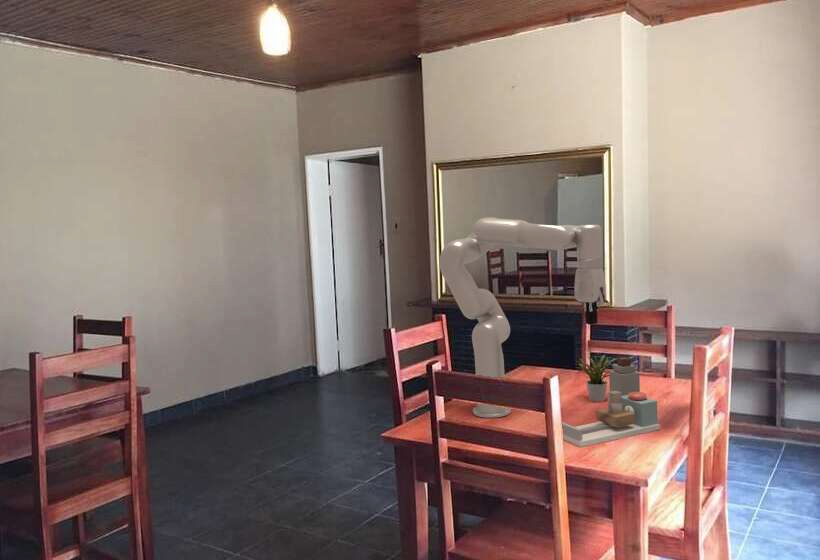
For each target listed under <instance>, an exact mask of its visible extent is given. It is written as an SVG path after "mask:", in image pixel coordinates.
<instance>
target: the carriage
mask: <svg viewBox="0 0 820 560" xmlns="http://www.w3.org/2000/svg"><path fill="white" fill-rule="evenodd" d="M607 403H608V406H607V407H605V408H601V409H596V410H595V416H596V417H595V420H596V421H597V422H603V423H606V424H608V425H611V426H613V427H616V428H617V427H622V426H627V425H631V424H635V413H632V412H629V411H626V410H623V409H622V392H619V391H612V392H610V391H608V392H607Z"/></svg>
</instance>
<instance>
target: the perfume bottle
mask: <svg viewBox="0 0 820 560" xmlns="http://www.w3.org/2000/svg"><path fill="white" fill-rule="evenodd" d="M611 366H612V368H613V369H612V370H609V371H608V372H609V373H608V375H609V376H608V378H609V392H612V391H619V392H622V396H625V395H628V393H630V392H641V390H640V389H641V388H640V387H641V385H640V384H641V382H640V372H639V371H638V372H637V371H636V368H637V365H635V364H632V358H630V357H628V356H622V357H621V356H620V357H616V363H613V364H611Z"/></svg>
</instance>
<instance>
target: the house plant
mask: <svg viewBox="0 0 820 560" xmlns="http://www.w3.org/2000/svg"><path fill="white" fill-rule="evenodd" d="M593 356H594V358H595V361H594V359H593V358H592V357H590V356H588V355H586V357H587V358H588V360H590V363H591V366H592V367H591V366H590V365H589V364H588V363H587V362H586V361H584V360H583V359H581V358H579V360H580V361H582V363H583V364H584V365H585V366H584V365H583V364H581V363H578V364H579V366H580V367H581V369H582V370H581V374H585V375H587V376H584V379H585V378H589V380H587V381H586V387H587V393H588V398H589V401H590V400H591V401H590V402H594V401H596V402H597V403H599V401H601V402H605V401H604V400H606V396H607V395H606V393H607V387H608V382H607V381H606V380H603V379H604V378H607V377H608V378H609V371H607V372H606V373H605V374H604V371H606V369H607V368H608V366H609V365H610V364H611V363H612V362H613V361H616V358H614V359H611V360H609V358H608V357H606V358H605V356H606V354H604V355H602V356H601V357H600V359H599V361H598V359H597V356H596V355H595V354H594V355H593ZM604 360H605V361H604Z"/></svg>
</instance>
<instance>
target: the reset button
mask: <svg viewBox="0 0 820 560" xmlns="http://www.w3.org/2000/svg"><path fill="white" fill-rule="evenodd" d="M628 398H629V399H632V400H634V401H642V400H644V399H646V398H647V393H646V392H642V391H640V392H630V393H628Z"/></svg>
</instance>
